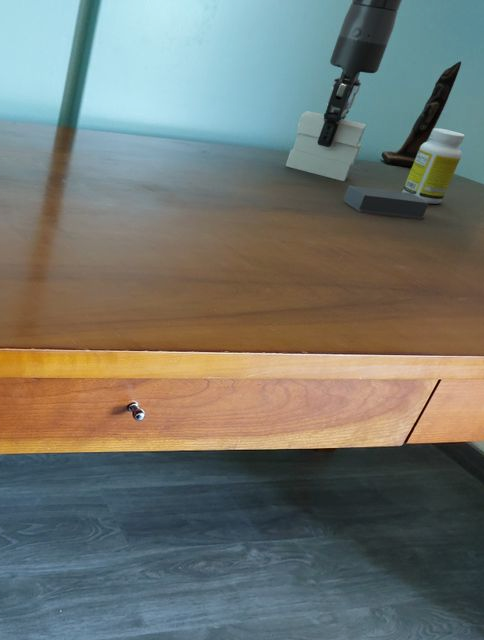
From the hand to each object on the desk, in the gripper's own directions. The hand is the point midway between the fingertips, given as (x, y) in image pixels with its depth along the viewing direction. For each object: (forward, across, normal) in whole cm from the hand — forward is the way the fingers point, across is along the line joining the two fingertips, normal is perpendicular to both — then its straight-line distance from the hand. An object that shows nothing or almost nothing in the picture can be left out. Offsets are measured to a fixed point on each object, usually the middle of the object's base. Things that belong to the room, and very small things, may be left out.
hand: (326, 142), depth 125 cm
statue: (+5, +27, -12) cm, 30 cm away
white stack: (+5, 0, 0) cm, 5 cm away
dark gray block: (+5, -22, -12) cm, 26 cm away
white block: (-1, 0, 0) cm, 1 cm away
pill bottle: (+5, 0, -17) cm, 18 cm away
